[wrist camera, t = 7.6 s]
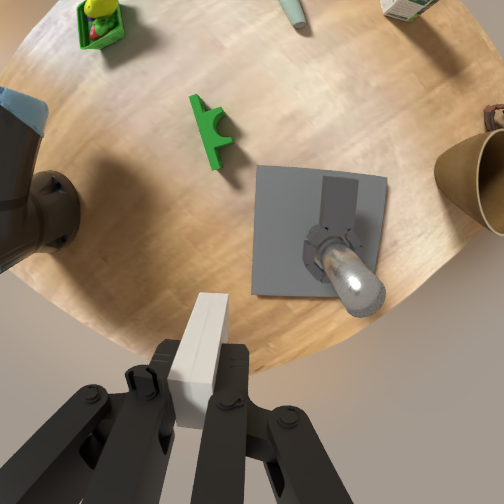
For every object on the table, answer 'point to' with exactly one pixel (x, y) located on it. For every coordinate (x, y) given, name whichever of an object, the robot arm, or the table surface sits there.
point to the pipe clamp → (210, 130)
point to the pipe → (350, 277)
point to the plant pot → (476, 178)
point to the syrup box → (405, 8)
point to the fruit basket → (99, 23)
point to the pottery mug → (491, 115)
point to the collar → (333, 221)
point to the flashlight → (294, 12)
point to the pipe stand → (304, 227)
